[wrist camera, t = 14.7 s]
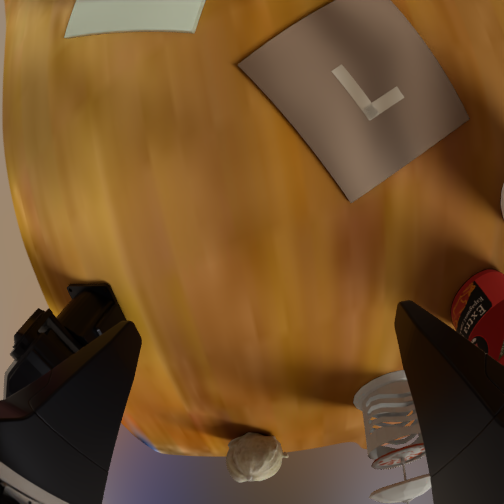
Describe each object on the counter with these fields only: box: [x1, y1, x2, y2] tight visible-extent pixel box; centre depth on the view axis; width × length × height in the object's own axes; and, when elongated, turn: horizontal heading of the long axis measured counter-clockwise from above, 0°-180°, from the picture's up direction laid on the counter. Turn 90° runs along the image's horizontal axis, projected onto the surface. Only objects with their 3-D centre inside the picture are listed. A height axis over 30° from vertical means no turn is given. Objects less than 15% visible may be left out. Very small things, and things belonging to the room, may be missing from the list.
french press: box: [353, 370, 431, 504], centre depth 18 cm, size 10×12×25 cm
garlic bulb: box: [226, 432, 288, 482], centre depth 33 cm, size 9×8×10 cm
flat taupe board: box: [238, 0, 469, 203], centre depth 14 cm, size 12×12×1 cm
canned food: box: [451, 269, 504, 366], centre depth 16 cm, size 8×8×11 cm
